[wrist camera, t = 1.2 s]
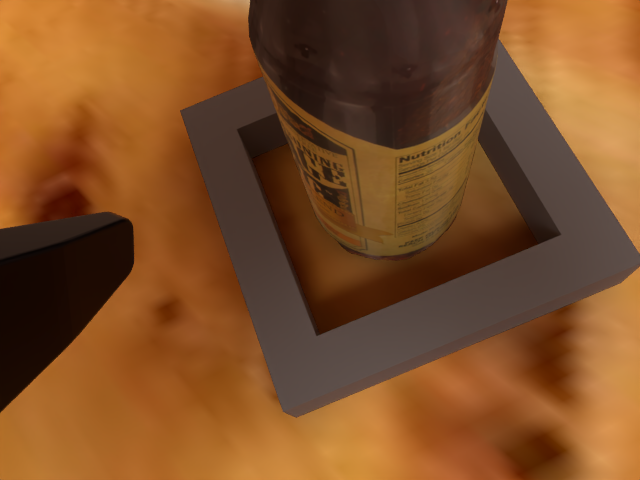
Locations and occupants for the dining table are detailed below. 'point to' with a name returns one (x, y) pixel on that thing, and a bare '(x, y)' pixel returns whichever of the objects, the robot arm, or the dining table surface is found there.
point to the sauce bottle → (380, 109)
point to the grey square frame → (434, 304)
